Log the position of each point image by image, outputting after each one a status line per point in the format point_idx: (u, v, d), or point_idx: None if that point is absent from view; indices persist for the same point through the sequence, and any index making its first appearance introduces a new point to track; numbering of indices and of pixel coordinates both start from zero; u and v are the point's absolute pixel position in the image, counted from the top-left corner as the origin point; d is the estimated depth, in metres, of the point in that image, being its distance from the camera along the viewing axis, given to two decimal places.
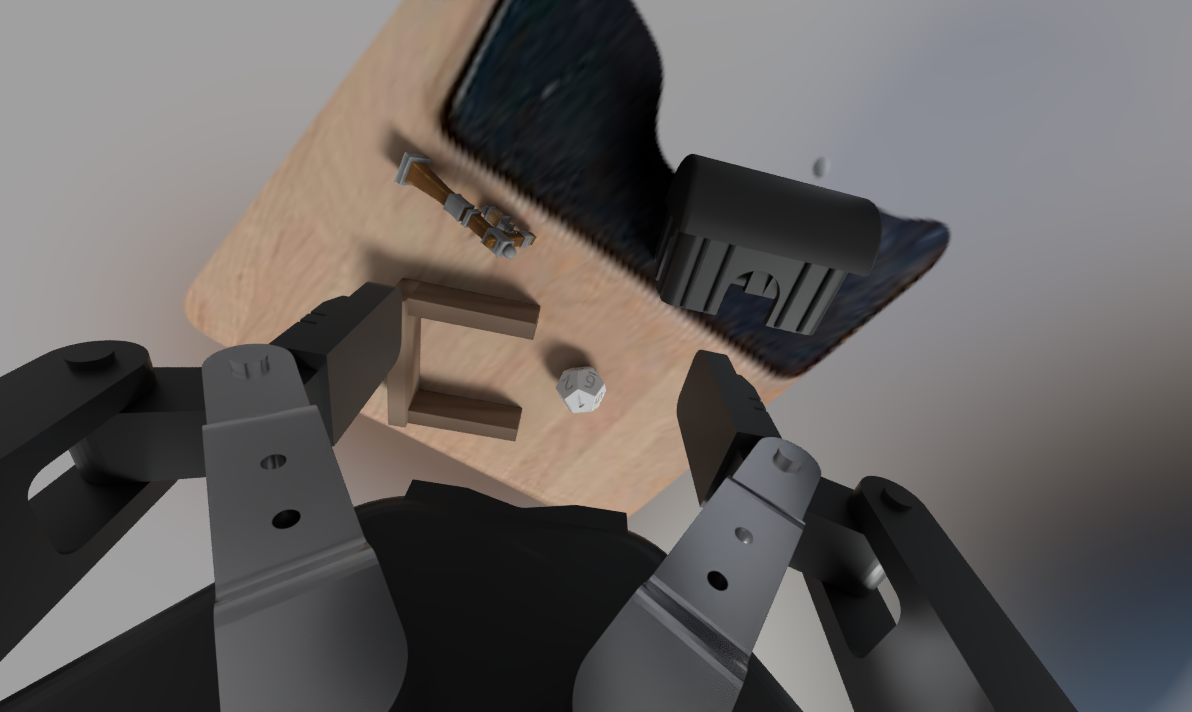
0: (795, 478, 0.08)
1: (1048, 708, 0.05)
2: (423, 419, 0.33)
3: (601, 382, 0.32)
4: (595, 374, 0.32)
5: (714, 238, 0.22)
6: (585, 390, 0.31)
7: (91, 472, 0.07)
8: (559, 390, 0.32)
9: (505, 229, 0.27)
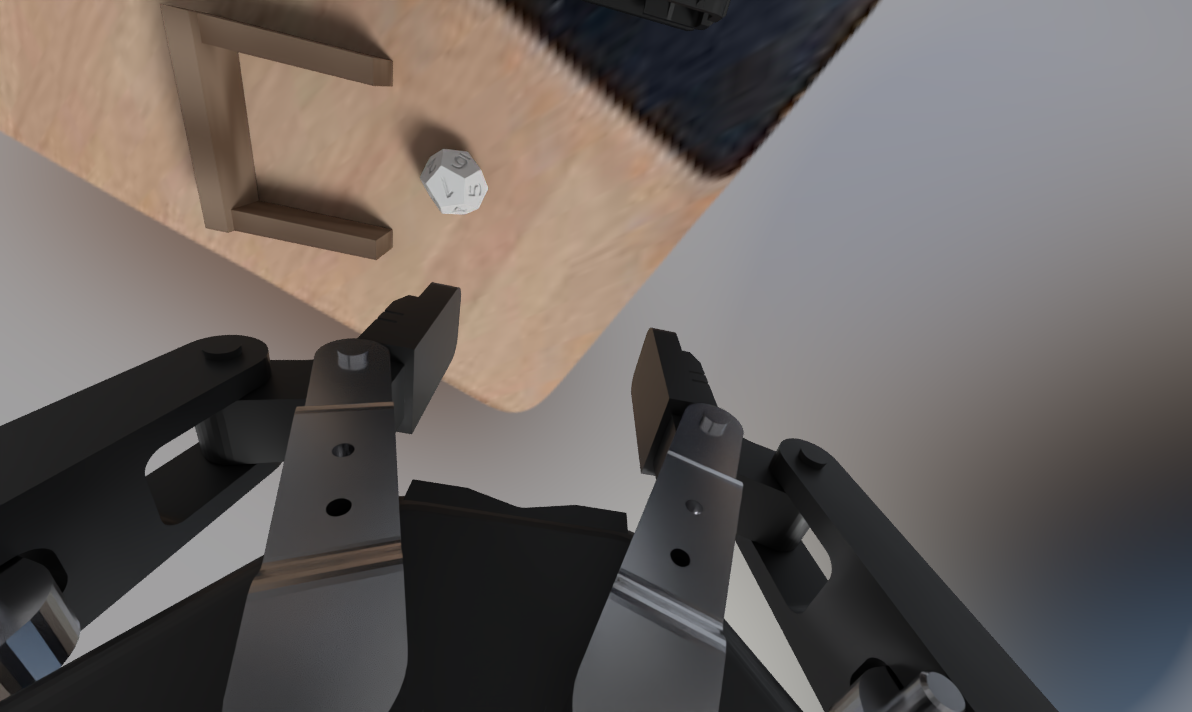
0: (716, 438, 0.08)
1: (962, 630, 0.06)
2: (253, 224, 0.26)
3: (476, 167, 0.25)
4: (469, 158, 0.25)
5: None
6: (451, 169, 0.24)
7: (208, 451, 0.08)
8: (423, 177, 0.25)
9: None
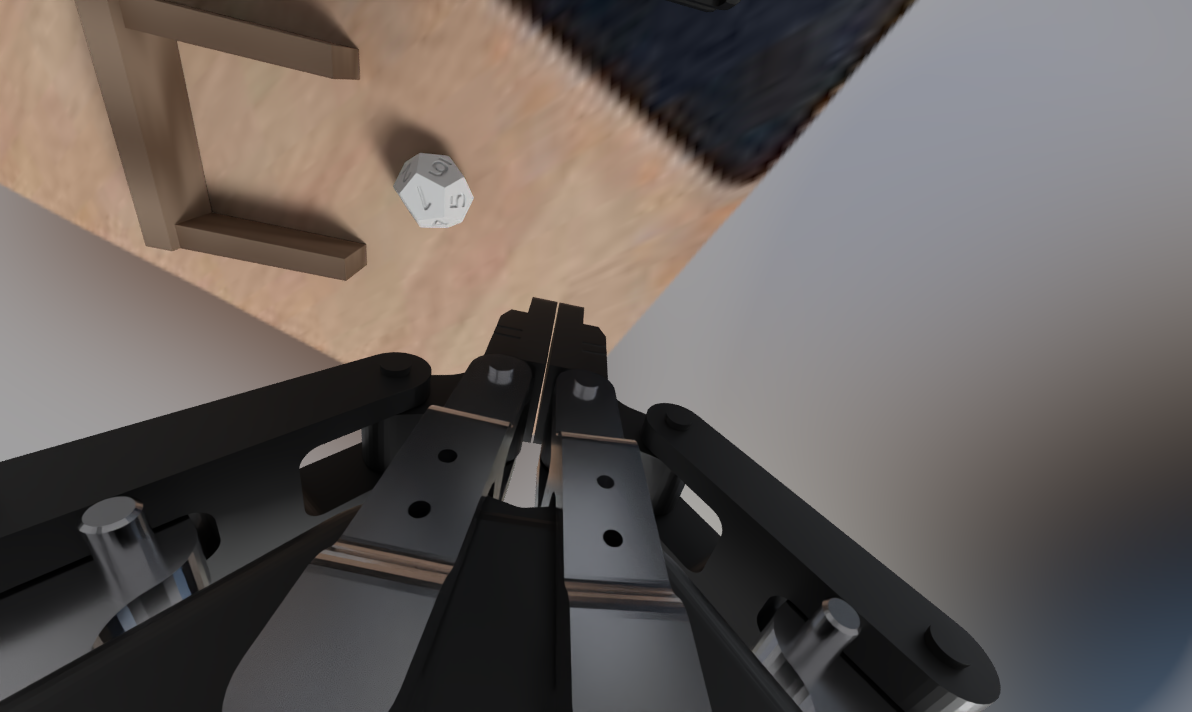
0: (581, 400, 0.09)
1: (834, 545, 0.07)
2: (202, 241, 0.23)
3: (459, 174, 0.22)
4: (450, 164, 0.22)
5: None
6: (428, 177, 0.21)
7: (365, 453, 0.08)
8: (396, 186, 0.22)
9: None
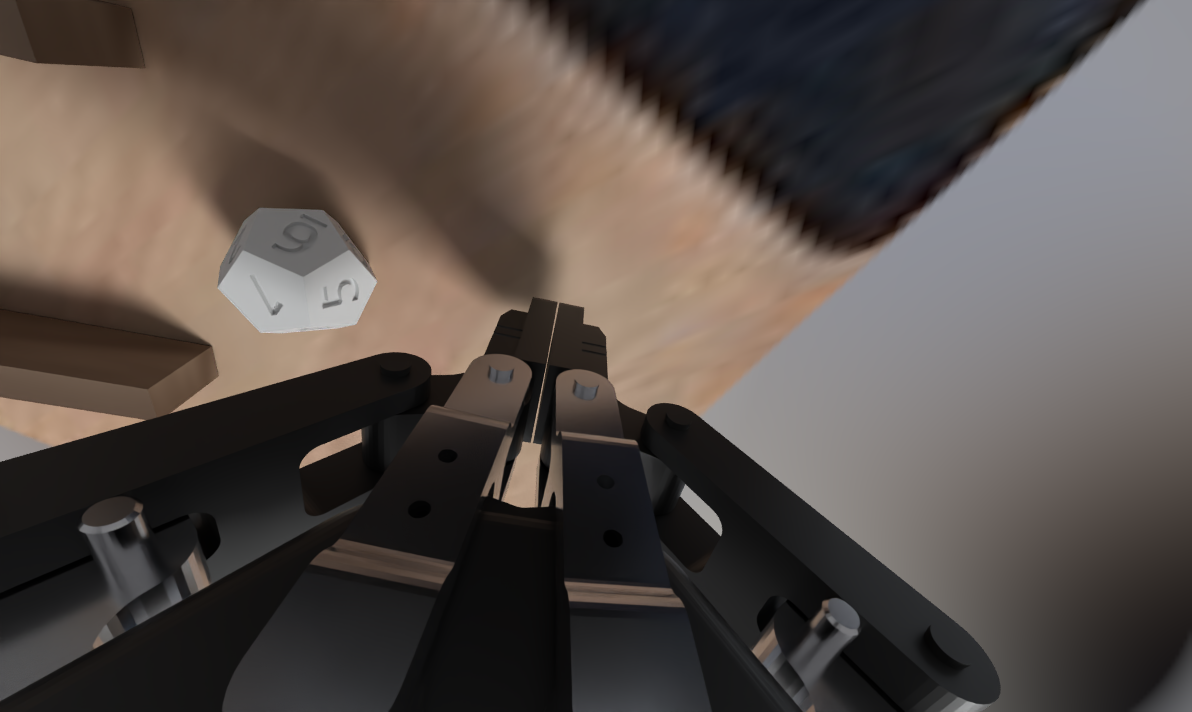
0: (581, 400, 0.09)
1: (834, 545, 0.07)
2: None
3: (339, 245, 0.12)
4: (325, 226, 0.12)
5: None
6: (268, 257, 0.11)
7: (365, 453, 0.08)
8: (222, 268, 0.12)
9: None
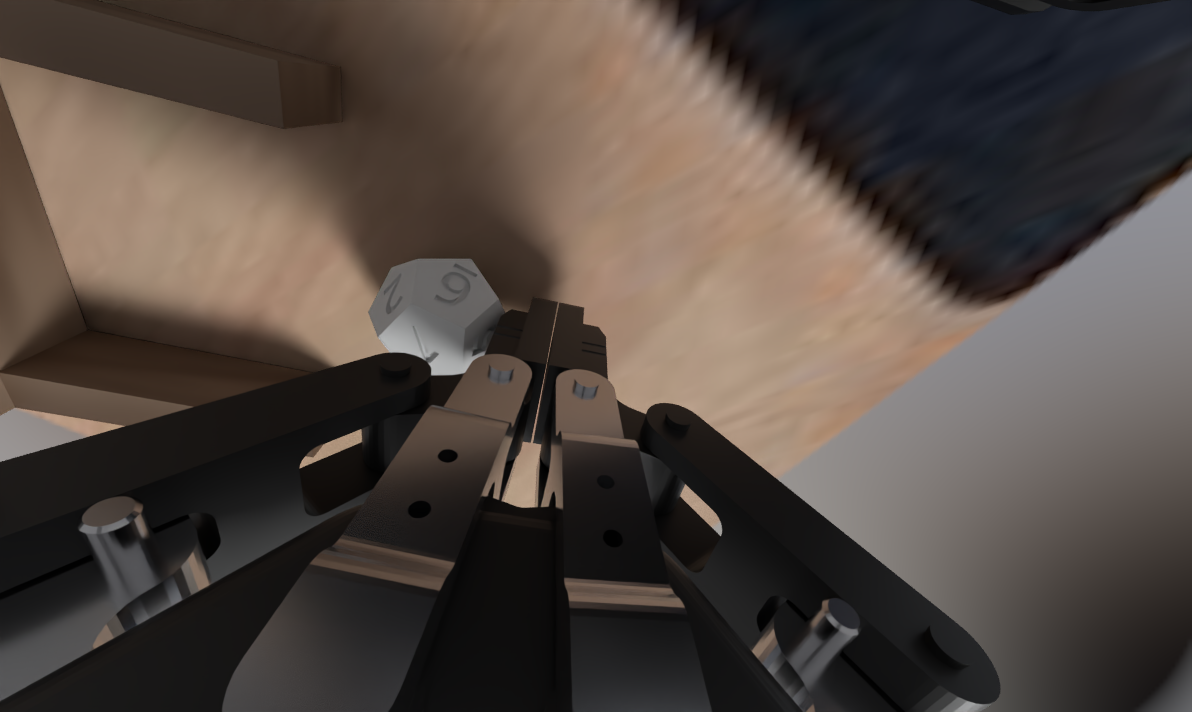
0: (581, 400, 0.09)
1: (834, 545, 0.07)
2: (53, 398, 0.13)
3: (489, 295, 0.12)
4: (475, 275, 0.12)
5: None
6: (433, 309, 0.11)
7: (365, 453, 0.08)
8: (374, 315, 0.12)
9: None
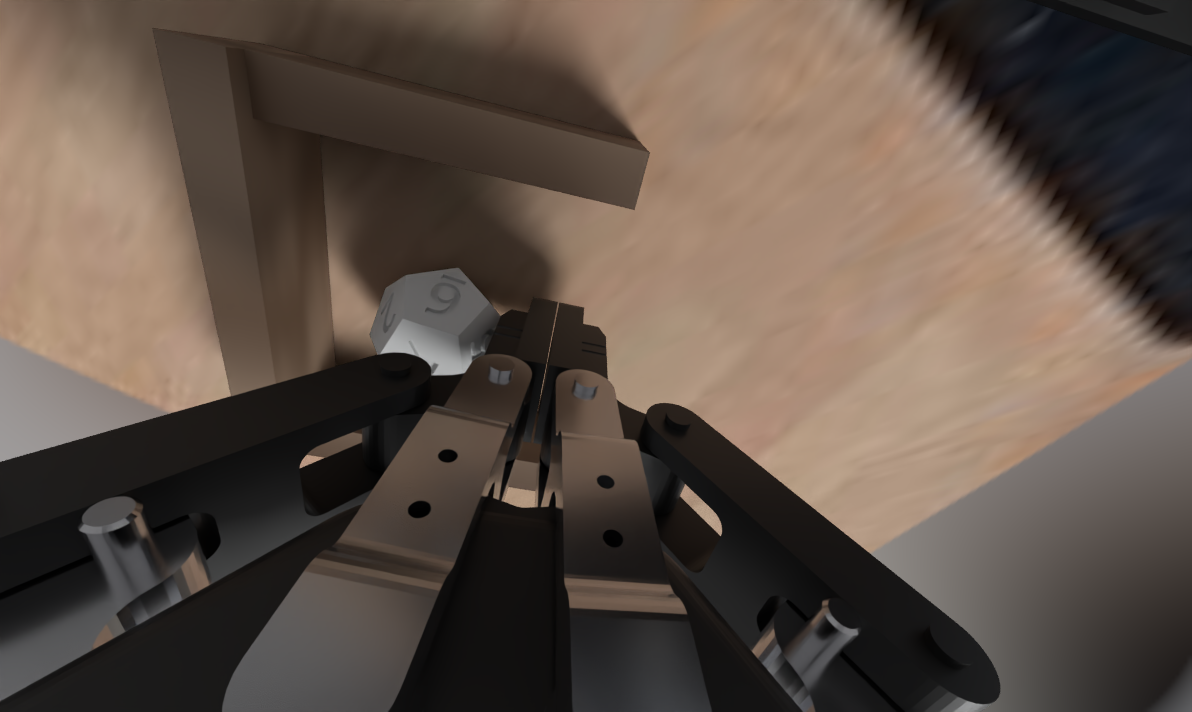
0: (580, 400, 0.09)
1: (834, 545, 0.07)
2: (336, 444, 0.14)
3: (480, 300, 0.12)
4: (464, 282, 0.12)
5: None
6: (425, 321, 0.11)
7: (365, 453, 0.08)
8: (374, 336, 0.12)
9: None
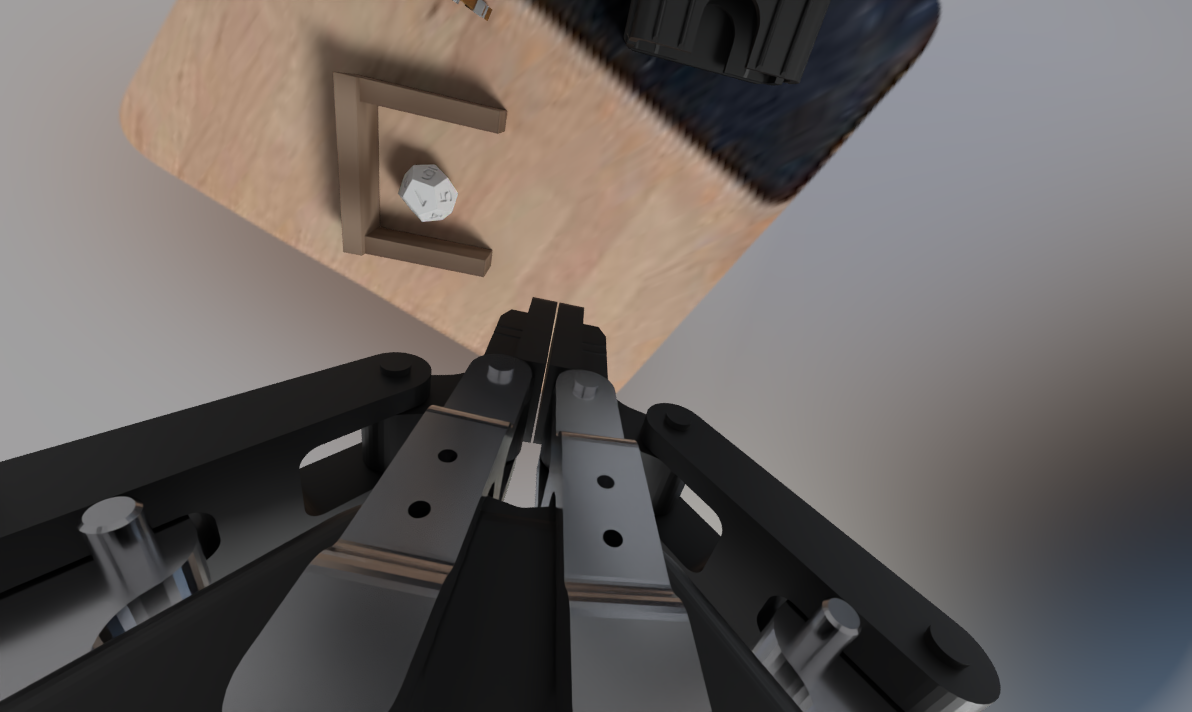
0: (581, 400, 0.09)
1: (834, 545, 0.07)
2: (382, 248, 0.30)
3: (443, 176, 0.29)
4: (437, 170, 0.29)
5: None
6: (421, 181, 0.28)
7: (365, 453, 0.08)
8: (400, 192, 0.29)
9: None
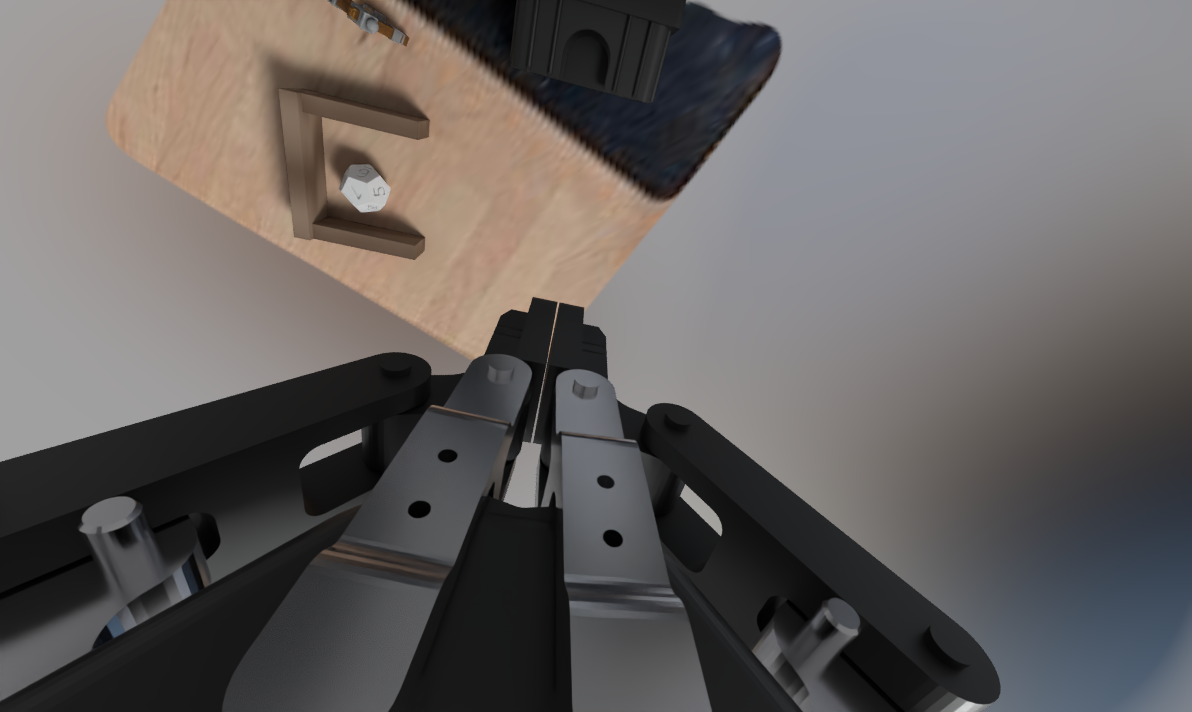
0: (581, 400, 0.09)
1: (834, 545, 0.07)
2: (327, 234, 0.36)
3: (376, 174, 0.35)
4: (371, 169, 0.35)
5: None
6: (355, 178, 0.34)
7: (365, 453, 0.08)
8: (340, 187, 0.35)
9: None
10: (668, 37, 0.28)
